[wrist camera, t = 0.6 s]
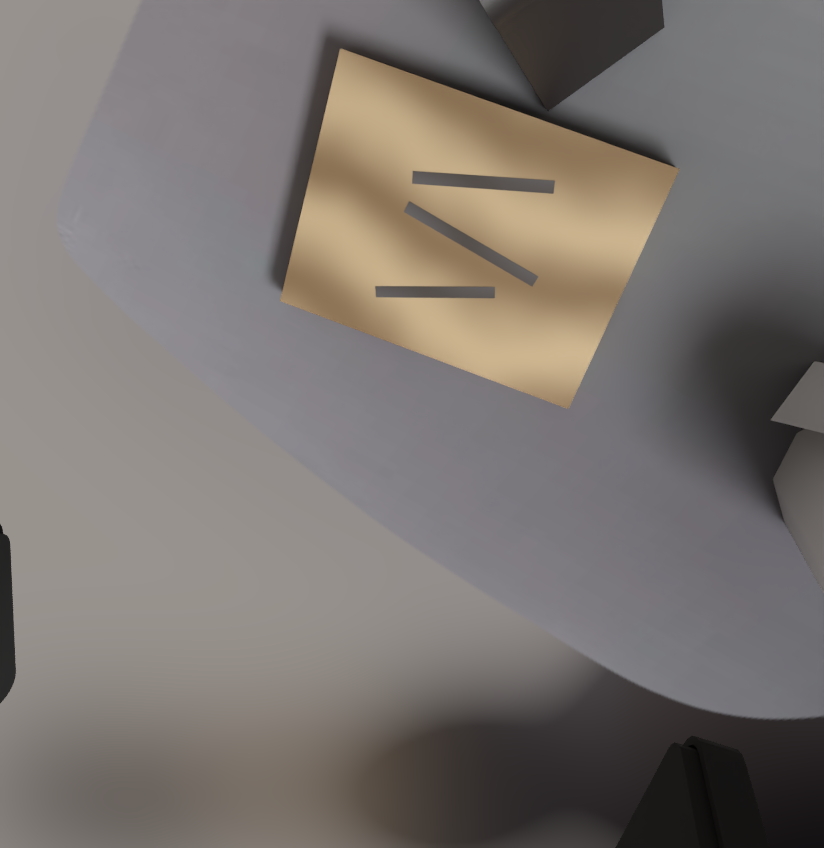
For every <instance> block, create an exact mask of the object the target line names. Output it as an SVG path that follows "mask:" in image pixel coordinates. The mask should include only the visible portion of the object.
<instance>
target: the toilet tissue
mask: <svg viewBox="0 0 824 848" xmlns="http://www.w3.org/2000/svg"><path fill="white" fill-rule="evenodd" d="M771 420H772V421H776V422H780V423H784V424H788V425H792V426H796V427H800V428H804V429H803V430H801V431H800V432H798V433H797V434H796V435H795V437H794V439H793V441H792V443H791V445H790V447H789V449H788V451H787V453H786V455H785V457H784V459H783V460H782V462H781V464H780V466H779V468H778V470H777V472H776V474H775V476H774V478H773V482H774V486H775V490H776V493H777V497H778V501H779V504H780V508H781V512H782V515H783V519H784V523H785V525H786V527H787V528H788V530H789V532H790V534H791V536H792V537H793V539H794V541H795V543H796V545H797V546H798V548H799V550H800V552H801V554H802V555H803V557H804V559H805V561H806V563H807V564H808V566H809V568H810V570H811V572H812V573H813V575H814V577H815V579H816V581H817V582H818V584H819V586H820V588H821V590H822V591H823V593H824V363H821V362H816V361H814V362H813V364H812V365H811V366H810V368H809V369H808V370H807V372H806V373H805V374H804V376H803V377H802V378H801V380H800V381H799V382H798V384H797V385H796V386H795V388H794V389H793V390H792V392H791V393H790V394H789V396H788V397H787V398H786V400H785V401H784V402H783V404H782V405H781V406H780V408H779V409H778V410H777V412H776V413H775V414H774V416H773V417H772V418H771Z"/></svg>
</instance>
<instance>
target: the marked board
mask: <svg viewBox="0 0 824 848" xmlns="http://www.w3.org/2000/svg"><path fill="white" fill-rule="evenodd" d="M678 172H679V169H678V168H676V167H673V166H670V165H667V164H664V163H662V162H659V161H656V160H653V159H650V158H648V157H645V156H642V155H639V154H636V153H634V152H631V151H628V150H625V149H622V148H620V147H617V146H614V145H611V144H608V143H605V142H603V141H600V140H597V139H594V138H591V137H589V136H586V135H583V134H580V133H577V132H575V131H572V130H569V129H566V128H563V127H561V126H558V125H555V124H552V123H549V122H546V121H544V120H541V119H538V118H535V117H532V116H530V115H527V114H524V113H521V112H518V111H516V110H513V109H510V108H507V107H504V106H502V105H499V104H496V103H493V102H490V101H487V100H485V99H482V98H479V97H476V96H473V95H471V94H468V93H465V92H462V91H459V90H457V89H454V88H451V87H448V86H445V85H443V84H440V83H437V82H434V81H431V80H428V79H426V78H423V77H420V76H417V75H414V74H412V73H409V72H406V71H403V70H400V69H398V68H395V67H392V66H389V65H386V64H384V63H381V62H378V61H375V60H372V59H369V58H367V57H364V56H361V55H358V54H355V53H353V52H350V51H347V50H344V49H341V48H340V51H339V55H338V60H337V64H336V68H335V72H334V76H333V81H332V85H331V89H330V93H329V97H328V102H327V106H326V110H325V114H324V118H323V123H322V127H321V131H320V135H319V139H318V144H317V148H316V152H315V156H314V160H313V165H312V169H311V173H310V177H309V181H308V186H307V190H306V194H305V198H304V202H303V207H302V211H301V215H300V219H299V223H298V228H297V232H296V236H295V240H294V244H293V249H292V253H291V257H290V261H289V265H288V270H287V274H286V278H285V282H284V286H283V291H282V295H281V299H280V301H282V302H284V303H287V304H290V305H292V306H295V307H298V308H300V309H303V310H306V311H308V312H311V313H314V314H316V315H319V316H322V317H324V318H327V319H330V320H332V321H335V322H338V323H340V324H343V325H346V326H348V327H351V328H354V329H356V330H359V331H362V332H364V333H367V334H370V335H372V336H375V337H378V338H380V339H383V340H386V341H388V342H391V343H394V344H396V345H399V346H402V347H404V348H407V349H410V350H412V351H415V352H418V353H420V354H423V355H426V356H428V357H431V358H434V359H436V360H439V361H442V362H444V363H447V364H450V365H452V366H455V367H458V368H460V369H463V370H466V371H468V372H471V373H474V374H476V375H479V376H482V377H484V378H487V379H490V380H492V381H495V382H498V383H500V384H503V385H506V386H509V387H511V388H514V389H517V390H519V391H522V392H525V393H527V394H530V395H533V396H535V397H538V398H541V399H543V400H546V401H549V402H551V403H554V404H557V405H559V406H562V407H565V408H567V409H569V406H570V404H571V402H572V400H573V398H574V396H575V394H576V391H577V389H578V387H579V385H580V383H581V381H582V378H583V376H584V374H585V372H586V370H587V368H588V366H589V363H590V361H591V359H592V357H593V355H594V353H595V350H596V348H597V346H598V344H599V342H600V340H601V338H602V335H603V333H604V331H605V329H606V327H607V325H608V322H609V320H610V318H611V316H612V314H613V312H614V310H615V307H616V305H617V303H618V301H619V299H620V297H621V294H622V292H623V290H624V288H625V286H626V284H627V282H628V279H629V277H630V275H631V273H632V271H633V269H634V266H635V264H636V262H637V260H638V258H639V256H640V254H641V251H642V249H643V247H644V245H645V243H646V241H647V238H648V236H649V234H650V232H651V230H652V228H653V225H654V223H655V221H656V219H657V217H658V215H659V213H660V210H661V208H662V206H663V204H664V202H665V200H666V197H667V195H668V193H669V191H670V189H671V187H672V185H673V182H674V180H675V178H676V176H677V174H678Z"/></svg>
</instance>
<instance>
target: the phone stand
mask: <svg viewBox="0 0 824 848" xmlns="http://www.w3.org/2000/svg"><path fill="white" fill-rule="evenodd" d="M479 1H480V3H481V4H482V6H483V8H484V9H485V11H486V13H487V14H488V16H489V18H490V19H491V21H492V23H493V24H494V26H495V27H496V29H497V30H498V31H499V33H500V35H501V36H502V38H503V39H504V41H505V43H506V44H507V46H508V48H509V49H510V51H511V52H512V54H513V56H514V57H515V59H516V61H517V62H518V64H519V65H520V67H521V69H522V70H523V72H524V74H525V75H526V77H527V78H528V80H529V82H530V83H531V85H532V87H533V88H534V90H535V91H536V93H537V95H538V96H539V98H540V100H541V101H542V103H543V104H544V106H545V108H546V109H547V111H549V110H550V109H552V108H553V107H555V106H556V105H557V104H559V103H560V102H561V101H563V100H564V99H566V98H567V97H568V96H570V95H571V94H573V93H574V92H575V91H577V90H578V89H579V88H581V87H582V86H584V85H585V84H586V83H588V82H589V81H591V80H592V79H593V78H595V77H596V76H597V75H599V74H600V73H602V72H603V71H604V70H606V69H607V68H609V67H610V66H611V65H613V64H614V63H615V62H617V61H618V60H620V59H621V58H622V57H624V56H625V55H627V54H628V53H629V52H631V51H632V50H633V49H635V48H636V47H638V46H639V45H640V44H642V43H643V42H645V41H646V40H647V39H649V38H650V37H651V36H653V35H654V34H656V33H657V32H658V31H660V30H661V29H663V28H664V19H663V8H662V0H479Z"/></svg>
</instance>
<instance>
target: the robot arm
mask: <svg viewBox="0 0 824 848" xmlns="http://www.w3.org/2000/svg"><path fill="white" fill-rule="evenodd" d="M15 674H16V667H15V646H14V622H13V599H12V576H11V553H10V541H9V538H8V536H7V535H5V534H3V530H2V526H1V525H0V703H1V702H2V701H3V700H4V698H5V697H6V696H7V694H8V693H9V691H10V689H11V687H12V685H13V683H14V679H15ZM616 848H770V847H769V843H768V840H767V836H766V833H765V829H764V826H763V822H762V819H761V816H760V812H759V809H758V805H757V802H756V799H755V795H754V792H753V788H752V784H751V781H750V777H749V775H748V771H747V767H746V764H745V761H744V758H743V756H742V754H741V753H740V752H739V751H738V750H737V749H734V748H731V747H728V746H724V745H721V744H718V743H714V742H711V741H708V740H705V739H702V738H699V737H695V736H691V737H690V738H688V739H687V740H686V742H685V743H684V745H681V744H678V743H673V744H671V746H670V747H669V749H668V750H667V753H666V754H665V756H664V758H663V760H662V762H661V764H660V765H659V768H658V769H657V771H656V773H655V775H654V777H653V778H652V780H651V782H650V785H649V786H648V788H647V790H646V792H645V793H644V795H643V797H642V799H641V801H640V803H639V805H638V807H637V809H636V810H635V812H634V814H633V816H632V818H631V820H630V822H629V823H628V825H627V827H626V829H625V831H624V833H623V835H622V837H621V838H620V841H619V842H618V844H617V846H616Z"/></svg>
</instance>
